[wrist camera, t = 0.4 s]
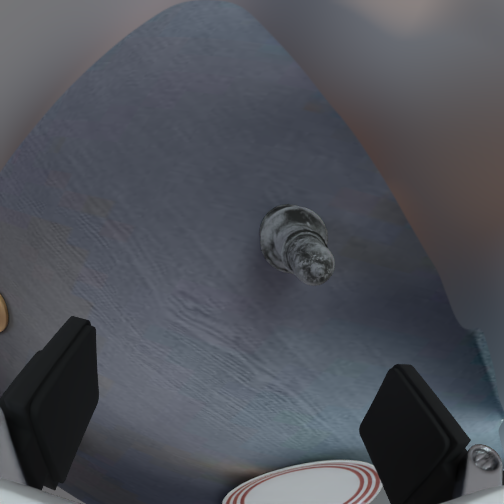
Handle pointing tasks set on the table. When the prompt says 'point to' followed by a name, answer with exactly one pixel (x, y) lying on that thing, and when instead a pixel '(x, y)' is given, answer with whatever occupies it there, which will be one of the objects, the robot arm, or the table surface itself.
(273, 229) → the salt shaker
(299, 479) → the dinner plate
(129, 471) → the table surface
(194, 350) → the table surface
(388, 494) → the robot arm
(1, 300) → the coaster
